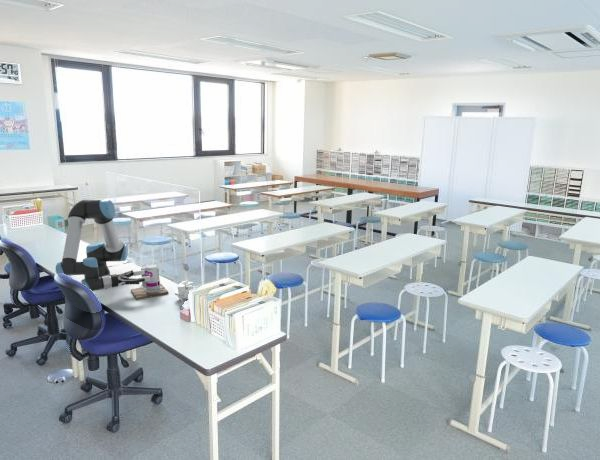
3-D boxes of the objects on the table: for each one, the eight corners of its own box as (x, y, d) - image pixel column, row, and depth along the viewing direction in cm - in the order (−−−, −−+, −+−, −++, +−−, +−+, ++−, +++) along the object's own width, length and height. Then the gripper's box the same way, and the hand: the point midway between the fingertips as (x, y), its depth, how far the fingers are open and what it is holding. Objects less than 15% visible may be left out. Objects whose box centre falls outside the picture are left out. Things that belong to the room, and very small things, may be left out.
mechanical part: (184, 294, 277) (183, 276, 274) (198, 298, 271) (198, 279, 269) (170, 300, 268) (169, 281, 265) (185, 304, 262) (184, 285, 259)
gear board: (131, 291, 281) (130, 288, 281) (161, 286, 291) (161, 283, 291) (136, 300, 268) (136, 297, 268) (168, 293, 278) (168, 291, 278)
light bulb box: (151, 284, 293) (149, 269, 291) (141, 284, 295) (140, 268, 292) (159, 279, 304) (158, 264, 301) (150, 278, 305) (148, 263, 302)
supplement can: (152, 292, 275) (150, 269, 272) (143, 289, 279) (141, 267, 276) (162, 288, 282) (161, 265, 278) (153, 285, 286) (152, 263, 282)
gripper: (107, 281, 277) (142, 275, 288) (115, 293, 256) (152, 286, 267) (106, 269, 275) (141, 264, 286) (113, 281, 254) (151, 275, 265)
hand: (147, 275), depth 276 cm, fingers open, 13 cm apart
